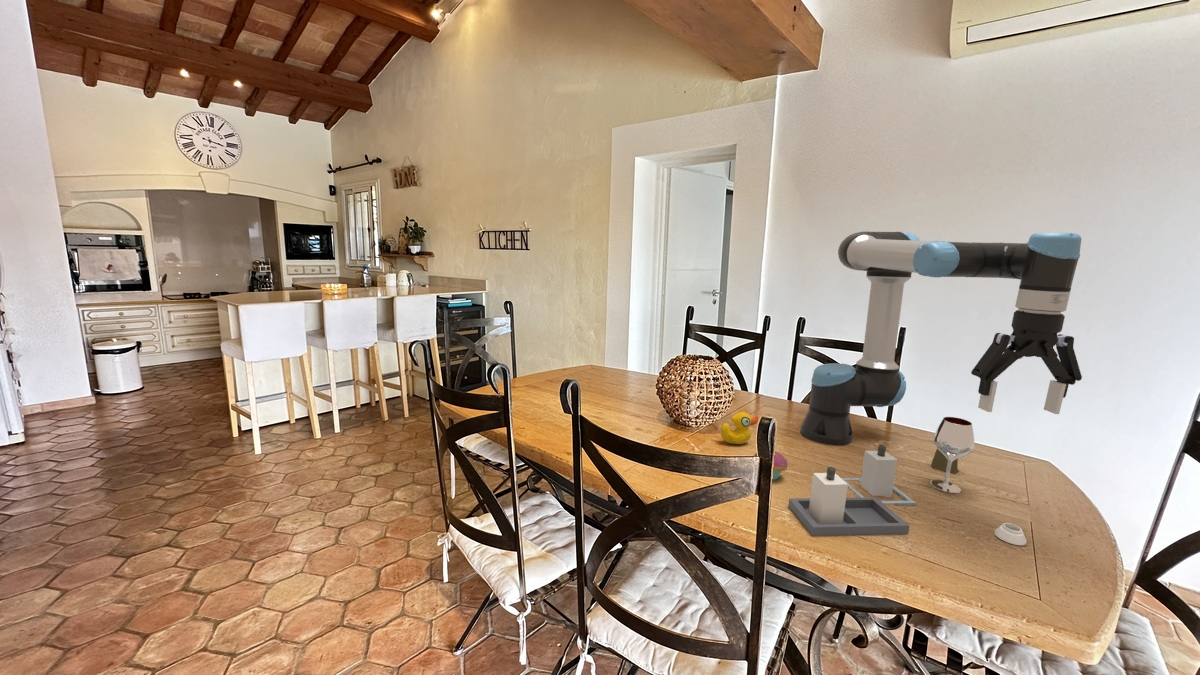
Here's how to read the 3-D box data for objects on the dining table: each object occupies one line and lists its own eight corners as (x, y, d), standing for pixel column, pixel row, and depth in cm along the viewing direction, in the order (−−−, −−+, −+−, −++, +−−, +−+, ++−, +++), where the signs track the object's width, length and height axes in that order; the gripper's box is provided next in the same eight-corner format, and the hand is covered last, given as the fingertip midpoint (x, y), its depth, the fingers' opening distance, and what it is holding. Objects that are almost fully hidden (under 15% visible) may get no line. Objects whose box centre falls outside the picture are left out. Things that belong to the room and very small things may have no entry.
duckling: (752, 439, 145) (755, 409, 143) (759, 446, 140) (762, 415, 138) (717, 439, 144) (719, 409, 142) (722, 447, 139) (725, 416, 137)
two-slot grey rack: (788, 508, 107) (789, 498, 107) (874, 506, 108) (876, 497, 108) (811, 537, 96) (813, 527, 96) (907, 536, 98) (909, 525, 97)
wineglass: (970, 498, 113) (984, 429, 109) (931, 491, 116) (943, 424, 112) (958, 482, 120) (970, 417, 117) (921, 476, 123) (932, 413, 120)
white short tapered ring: (1014, 548, 94) (1031, 544, 96) (1017, 536, 94) (1034, 532, 95) (988, 534, 99) (1004, 530, 100) (991, 522, 98) (1007, 518, 100)
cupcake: (757, 466, 127) (761, 425, 125) (789, 475, 122) (794, 433, 120) (747, 478, 120) (751, 436, 118) (781, 489, 116) (785, 444, 113)
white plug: (808, 513, 104) (814, 463, 102) (829, 513, 105) (836, 462, 102) (819, 526, 99) (826, 474, 97) (842, 526, 100) (849, 474, 97)
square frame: (838, 480, 120) (838, 478, 120) (882, 479, 121) (882, 477, 121) (867, 505, 109) (867, 503, 109) (915, 505, 109) (916, 502, 109)
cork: (962, 474, 125) (969, 436, 123) (937, 471, 126) (944, 434, 124) (950, 464, 131) (957, 427, 128) (926, 461, 132) (933, 425, 130)
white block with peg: (859, 487, 117) (866, 441, 115) (878, 486, 118) (885, 441, 115) (872, 497, 112) (879, 450, 110) (891, 497, 113) (899, 450, 110)
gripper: (990, 312, 89) (970, 415, 94) (1123, 315, 88) (1097, 419, 93) (962, 307, 97) (944, 402, 101) (1085, 310, 96) (1062, 406, 100)
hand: (1017, 410), depth 97 cm, fingers open, 13 cm apart
